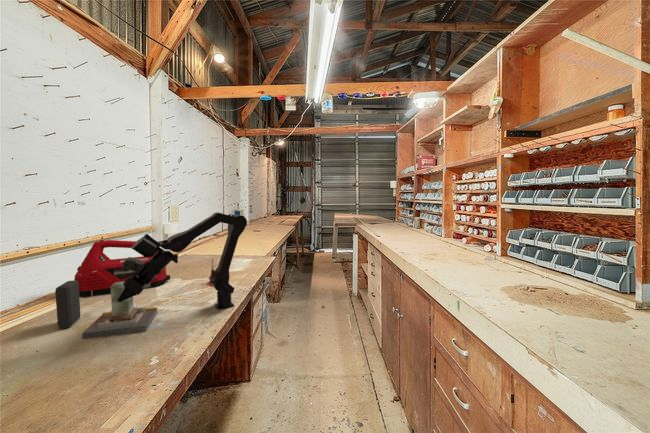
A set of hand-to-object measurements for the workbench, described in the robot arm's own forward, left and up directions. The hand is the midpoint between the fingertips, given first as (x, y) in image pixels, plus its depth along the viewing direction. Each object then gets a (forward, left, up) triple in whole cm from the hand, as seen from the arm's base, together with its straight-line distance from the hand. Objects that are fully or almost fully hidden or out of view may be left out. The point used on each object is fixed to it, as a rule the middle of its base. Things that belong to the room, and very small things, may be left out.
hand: (123, 296), depth 103 cm
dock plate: (0, 0, -10) cm, 10 cm away
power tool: (+49, -1, -11) cm, 50 cm away
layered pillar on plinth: (0, 0, -8) cm, 8 cm away
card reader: (+12, +16, -11) cm, 23 cm away
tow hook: (+29, -41, -11) cm, 51 cm away
